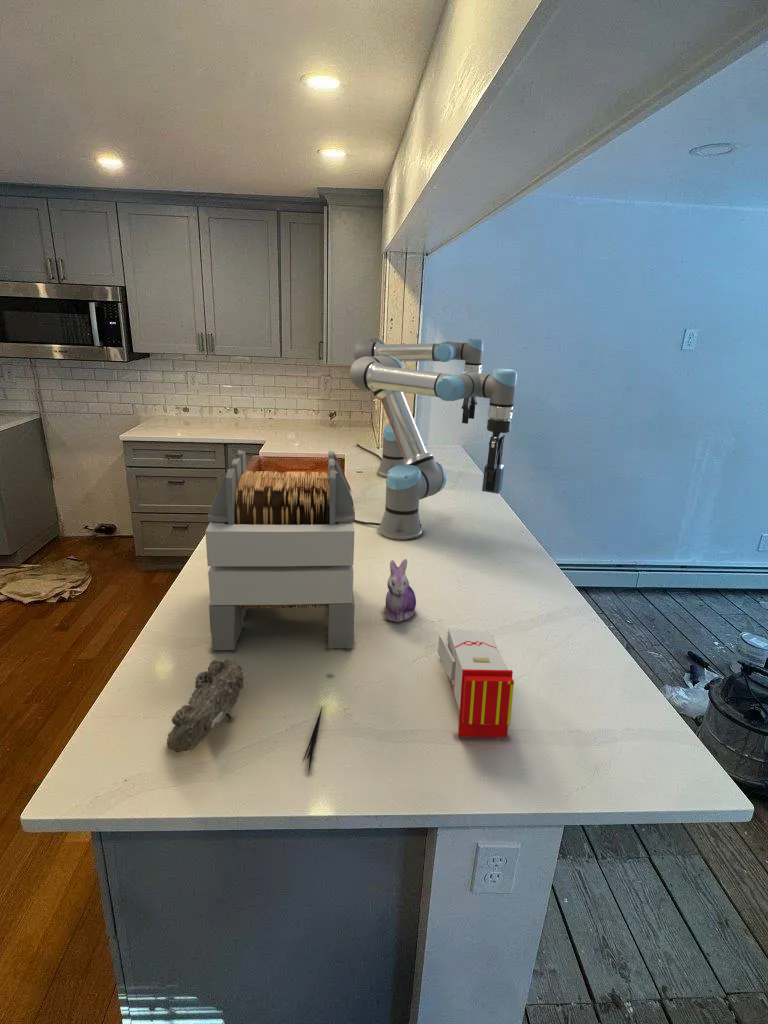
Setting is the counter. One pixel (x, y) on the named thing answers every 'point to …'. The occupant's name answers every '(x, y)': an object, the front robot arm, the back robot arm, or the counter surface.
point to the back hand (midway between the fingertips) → (468, 420)
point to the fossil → (206, 705)
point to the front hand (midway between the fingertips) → (491, 488)
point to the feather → (313, 740)
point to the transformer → (281, 548)
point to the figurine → (399, 594)
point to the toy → (478, 682)
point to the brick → (497, 480)
